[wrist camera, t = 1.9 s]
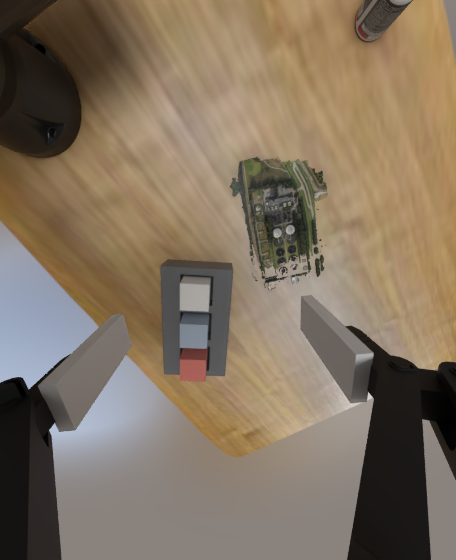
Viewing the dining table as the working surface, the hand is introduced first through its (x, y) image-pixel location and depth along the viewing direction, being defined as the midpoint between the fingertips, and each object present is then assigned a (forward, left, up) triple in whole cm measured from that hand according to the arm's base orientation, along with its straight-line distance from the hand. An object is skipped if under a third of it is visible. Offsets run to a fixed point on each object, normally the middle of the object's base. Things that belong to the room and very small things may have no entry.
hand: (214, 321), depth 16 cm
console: (-3, -13, -25) cm, 28 cm away
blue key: (-3, -13, -21) cm, 25 cm away
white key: (-3, -6, -21) cm, 22 cm away
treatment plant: (+11, +6, -26) cm, 29 cm away
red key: (-3, -20, -21) cm, 29 cm away
